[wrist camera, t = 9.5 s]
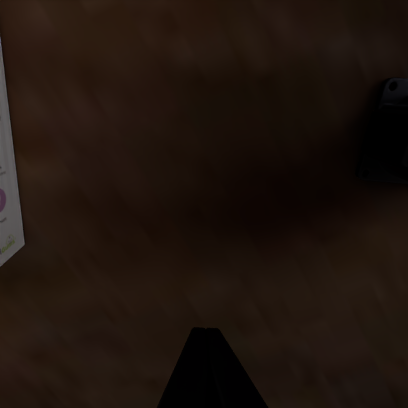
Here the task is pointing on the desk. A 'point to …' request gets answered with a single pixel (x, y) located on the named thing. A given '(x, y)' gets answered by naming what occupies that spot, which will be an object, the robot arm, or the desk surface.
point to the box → (8, 182)
